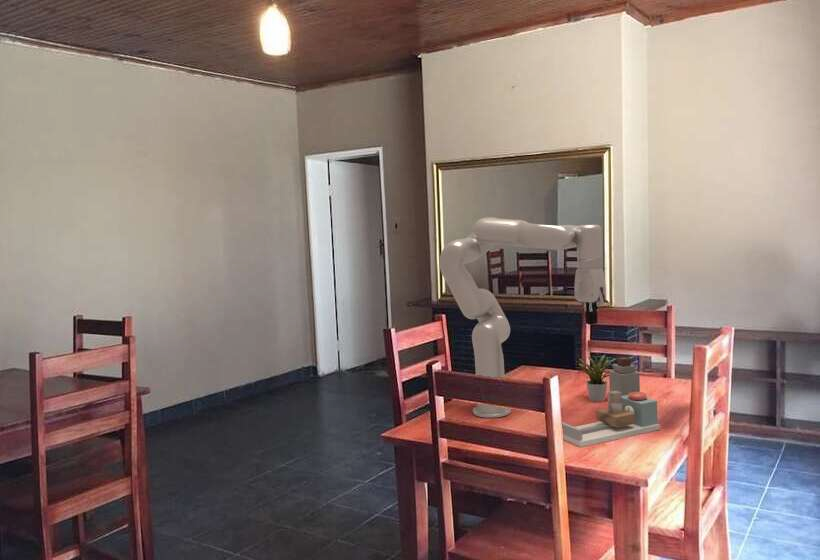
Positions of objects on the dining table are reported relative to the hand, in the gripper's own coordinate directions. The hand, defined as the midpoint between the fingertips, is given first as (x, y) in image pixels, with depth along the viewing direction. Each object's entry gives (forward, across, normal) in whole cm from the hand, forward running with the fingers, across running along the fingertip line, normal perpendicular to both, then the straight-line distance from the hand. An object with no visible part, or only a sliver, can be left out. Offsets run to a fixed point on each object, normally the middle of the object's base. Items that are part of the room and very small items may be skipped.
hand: (591, 323), depth 211 cm
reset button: (+24, +11, +8) cm, 28 cm away
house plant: (+31, -19, +18) cm, 41 cm away
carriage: (+28, +11, -1) cm, 30 cm away
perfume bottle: (+31, -2, +14) cm, 34 cm away
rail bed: (+31, +11, -4) cm, 33 cm away
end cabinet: (+30, +11, +7) cm, 32 cm away
